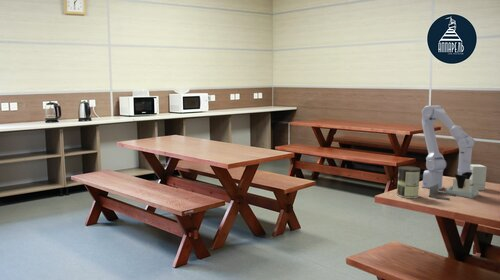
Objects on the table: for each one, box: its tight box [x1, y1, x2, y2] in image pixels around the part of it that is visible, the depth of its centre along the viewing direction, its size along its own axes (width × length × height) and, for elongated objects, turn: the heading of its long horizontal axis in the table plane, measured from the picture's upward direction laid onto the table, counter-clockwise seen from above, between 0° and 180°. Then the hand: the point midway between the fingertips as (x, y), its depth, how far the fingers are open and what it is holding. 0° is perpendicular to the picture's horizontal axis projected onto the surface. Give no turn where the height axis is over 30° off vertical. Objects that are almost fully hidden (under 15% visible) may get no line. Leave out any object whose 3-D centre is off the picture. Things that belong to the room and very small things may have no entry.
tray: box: [445, 185, 480, 199], centre depth 250 cm, size 13×10×2 cm
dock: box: [428, 183, 457, 201], centre depth 244 cm, size 10×11×5 cm
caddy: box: [452, 177, 474, 193], centre depth 249 cm, size 9×5×7 cm, turn 51°
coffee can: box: [396, 165, 421, 199], centre depth 244 cm, size 10×10×14 cm
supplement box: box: [469, 163, 488, 191], centre depth 263 cm, size 7×7×13 cm
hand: (462, 187), depth 250 cm, fingers open, 7 cm apart
